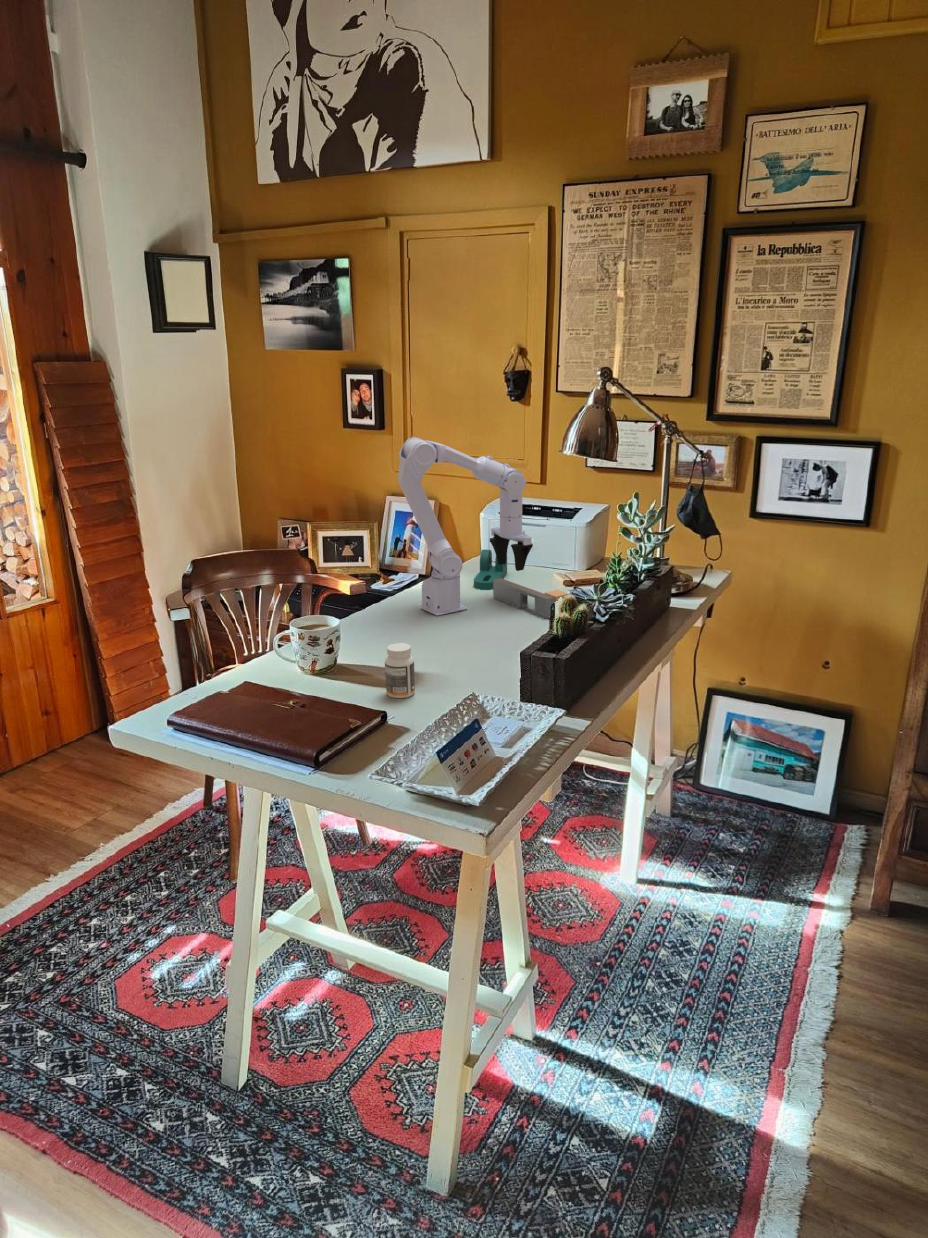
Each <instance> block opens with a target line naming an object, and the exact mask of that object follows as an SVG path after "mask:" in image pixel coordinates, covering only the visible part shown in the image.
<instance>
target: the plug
mask: <svg viewBox="0 0 928 1238" xmlns="http://www.w3.org/2000/svg"><path fill="white" fill-rule="evenodd" d="M567 593H568V592H566V591H562V590H559V589H556V590H552V591H551V590H550V591H547V592H544V594H546V595H549V596H552V597H554V602H556V601H558V599H559V598H560V597H563V596H564V595H566V594H567Z"/></svg>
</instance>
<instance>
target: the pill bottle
mask: <svg viewBox="0 0 928 1238" xmlns="http://www.w3.org/2000/svg"><path fill="white" fill-rule="evenodd" d="M386 652H387V657H386V658H385V659H384V670H385V688H386V691H385V692H386V694H387V695H388V697H390V698H393V699H405V698H410V697H412V696H414V695H415V692H416V679H415V677H416V676H415V675H416V673H415V659H414V657H413V656H412V655H411V654H412V646H411V645H410V644H409V643H405V642H396V643H391V644H389V645H388V646H387V647H386Z"/></svg>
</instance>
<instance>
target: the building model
mask: <svg viewBox="0 0 928 1238" xmlns="http://www.w3.org/2000/svg"><path fill="white" fill-rule="evenodd" d="M492 591H493V595H492V596H493V597H492V598H493V599H494V600H496V601H499V602H501V603H504V604H506V605H509V606H511V605H513V606H512V607H514V606H515V607H514V608H516V607H517V609H519V610H521V608H522V609H525V607H526V608H528V605H529V604H528V601H529V600H528V599H529V598H528V597H531V598H534V615H535V616H537V617H540V618H542V619H545V620H547V619H548V620H549V619H550V618H549V616H550V607H551V604H553V603H554V597H552V596H549V595H546V594H545V592H540V591H537V590H535V589H533V588H530V587H527V586H523V585H520V584H518V583H515V582H513V581H510V580H508V579H505V578H504V579H502V578H499V579H494V580H493V589H492Z"/></svg>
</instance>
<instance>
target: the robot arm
mask: <svg viewBox="0 0 928 1238" xmlns="http://www.w3.org/2000/svg"><path fill="white" fill-rule="evenodd" d="M398 456H399V463H398V464H399V466H398V476H397V481H398V484H399V486H400V489H401V491H402V493H403V495H404V498H405V500H406V502H407V504H408V506H409V508H410V510H411V512H412V514H413V517H414V519H415V521H416V524H417V525H418V528H419V530H420V532H421V534H422V536H423V538H424V540H425V541H424V542H426V543H425V544H426V549H427V551H428V562H429V565H430V566H431V567H432V571H431V576H429V578H426V579H423V581H422V584H421V603H422V605H421V606H420V609H421V610H424V611H426V612H428V613H430V614H433V615H435V616H442V615H447V614H451V613H456V612H459V611H460V612H461V611H464V610H468V606H465V605H463V604H461V572H462V570H463V567H464V566H463V560H462V558H461V556H459V555H458V554H456V552H455V551H454V549H453V547H452V546H451V544H450V542H449V541H448V540H447V538H446V536H445V534H444V532H443V530H442V527H441V525H440V523H439V520H438V519H437V516H436V514H435V512H434V510H433V508H432V507H433V506H432V505H431V503H430V500H429V498H428V496H427V494H426V491H425V489H424V488H423V485H422V480H423V478H424V476H425V473H426V472H427V471H428V470H429V469H430V468H431V467H432V466H433V465H434V463H436V464H440V463H443V462H448V463H451V464H453V465H456V466H459V467H461V468H464V469H467V470H469V471H471V473H472V475H473V478H475V479H477V480H479V481H482V482H484V483H487V484H489V485H492V486H494V487H497V488H499V527H491V528H490V530H491V531H490V532H491V534H490V535H491V536H492V537H490V538H489V543H490V544H491V545H492V546H491V547H492V548H493V550H494V553H495V559H496V558H497V562H498V564H499V565H502V564H506V560H507V561H508V548H509V544H510V541H512V542H516V543H512V544H510V547H511V550H512V553H513V556H514V568H515V571H517V572H520V571H523V570H525V566H526V562H527V558H528V556H529V554H530V552H531V550H532V549H533V547H534V546H533V545H534V544H533V543H532V536H530V535H527V534H526V531H525V530H523V490H524V489H525V487H526V485H527V480H526V479H525V475H524V474H523V472H522V471H520V470H518V469H515V468H513V467H511V466H510V464H508V463H504V464H503V463H501V462H499V461H496V460H495V459H494V456H493V457H492V456H490V455H486V456H484V455H482V456H480V457H477V458H474V457H472V456H470V455H468V454H465V453H463V452H461V451H459V450H456V449H454V448H452V447H450V446H448V445H445V444H443V443H439V442H436V441H432V440H428V439H425V440H424V439H422V438H421V437H417V436H414V437H410V438H407V440H406V441H404V443H403V445H402V447H401V449H400V451H399V455H398Z"/></svg>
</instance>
